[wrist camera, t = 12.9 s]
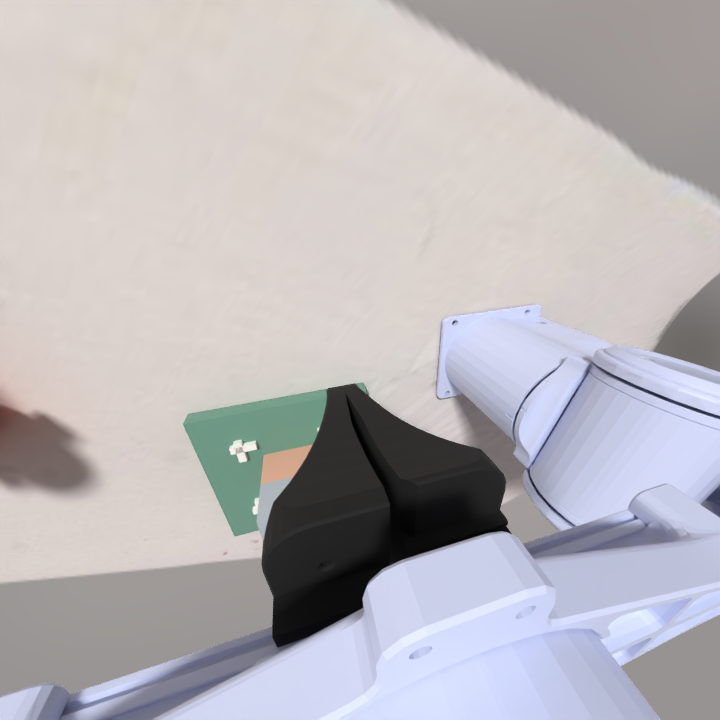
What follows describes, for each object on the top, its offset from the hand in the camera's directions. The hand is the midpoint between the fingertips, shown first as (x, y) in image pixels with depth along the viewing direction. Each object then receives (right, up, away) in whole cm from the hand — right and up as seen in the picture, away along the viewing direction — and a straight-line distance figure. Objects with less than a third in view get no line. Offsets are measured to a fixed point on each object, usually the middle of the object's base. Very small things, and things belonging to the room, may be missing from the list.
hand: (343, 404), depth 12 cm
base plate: (-5, -7, +13) cm, 16 cm away
